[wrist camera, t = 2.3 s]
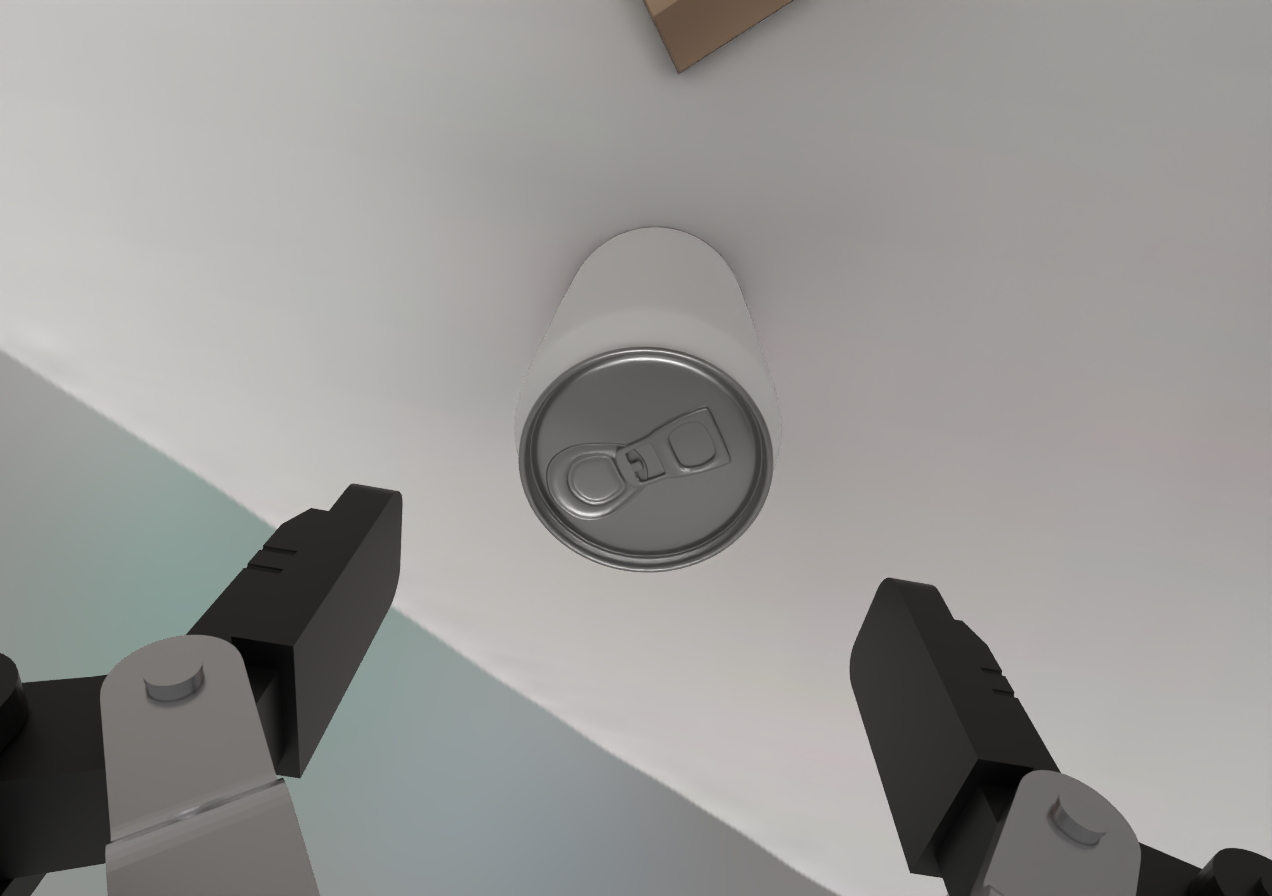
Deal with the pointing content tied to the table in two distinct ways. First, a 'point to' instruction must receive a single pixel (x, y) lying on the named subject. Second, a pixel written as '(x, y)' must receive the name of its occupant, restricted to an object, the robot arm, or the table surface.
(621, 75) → the table surface
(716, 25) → the tray
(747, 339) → the can
